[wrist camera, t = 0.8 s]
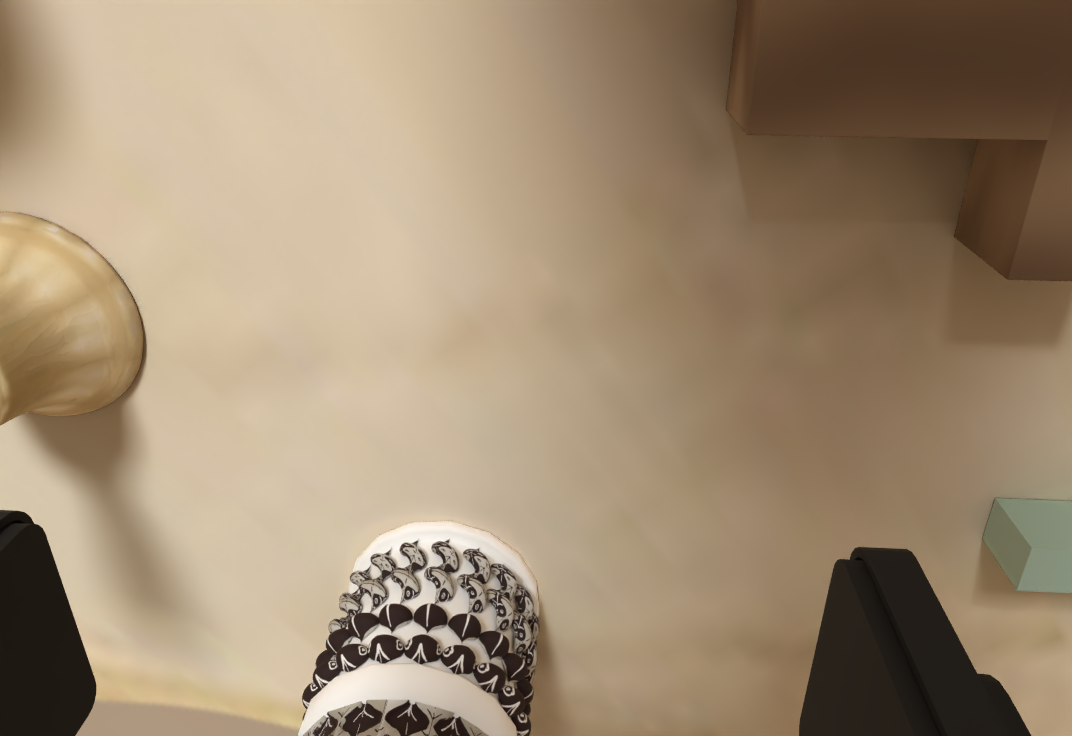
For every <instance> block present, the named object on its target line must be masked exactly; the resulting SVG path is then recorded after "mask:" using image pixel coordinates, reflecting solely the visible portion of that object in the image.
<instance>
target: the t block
mask: <svg viewBox="0 0 1072 736" xmlns="http://www.w3.org/2000/svg"><path fill="white" fill-rule="evenodd" d="M726 110H727V111H728V113H729V114H730V115H731V116H732V117H733V119H734V120H735V121H736V122H737V123H738V125H739V126H740V127H741V128H742V129H743V131H744V132H745V133H746V134H747V135H777V136H836V137H894V138H953V139H978V141H977V146H976V150H975V154H974V158H973V162H972V166H971V170H970V174H969V178H968V182H967V186H966V190H965V194H964V198H963V202H962V206H961V210H960V214H959V218H958V222H957V226H956V230H955V234H954V237H955V238H956V239H958V240H959V241H960V242H961V243H963V244H964V245H965V246H966V247H968V248H969V249H970V250H971V251H973V252H974V253H975V254H976V255H978V256H979V257H980V258H981V259H983V260H984V261H985V262H986V263H988V264H989V265H990V266H991V267H993V268H994V269H995V270H996V271H998V272H999V273H1000V274H1001V275H1003V276H1004V277H1005V278H1006V279H1008V280H1047V281H1072V0H738V2H737V12H736V21H735V30H734V40H733V49H732V58H731V68H730V77H729V86H728V96H727V105H726Z"/></svg>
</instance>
